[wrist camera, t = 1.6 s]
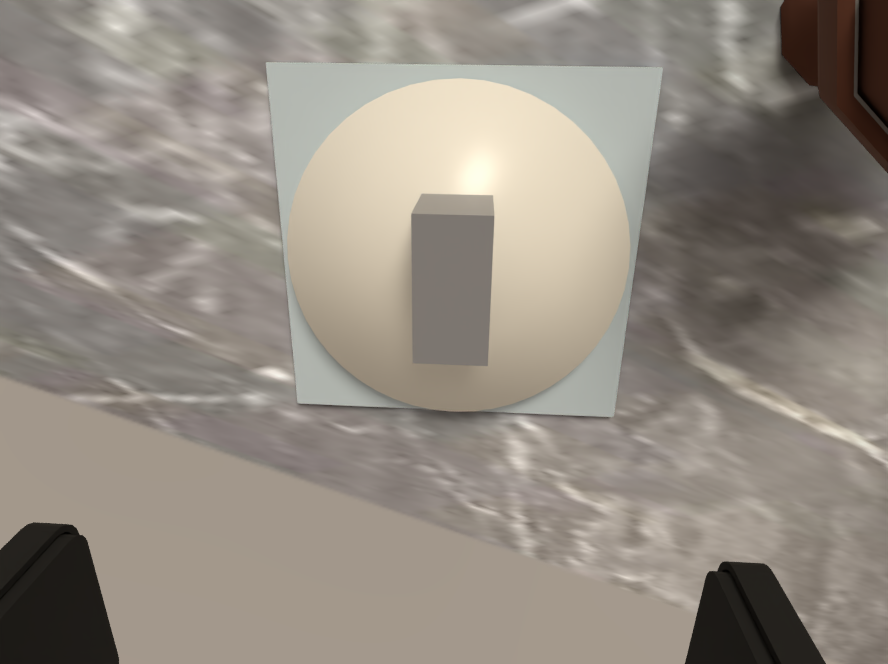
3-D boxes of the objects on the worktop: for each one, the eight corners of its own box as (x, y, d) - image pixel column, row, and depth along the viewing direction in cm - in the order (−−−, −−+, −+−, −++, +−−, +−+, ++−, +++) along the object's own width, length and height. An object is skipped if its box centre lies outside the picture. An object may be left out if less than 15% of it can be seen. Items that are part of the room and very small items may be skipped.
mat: (660, 67, 24) (662, 67, 24) (612, 413, 31) (613, 417, 30) (268, 62, 25) (265, 61, 25) (299, 399, 32) (297, 403, 31)
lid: (647, 80, 24) (685, 82, 20) (604, 407, 30) (626, 467, 26) (278, 75, 25) (232, 76, 20) (306, 395, 31) (275, 451, 26)
